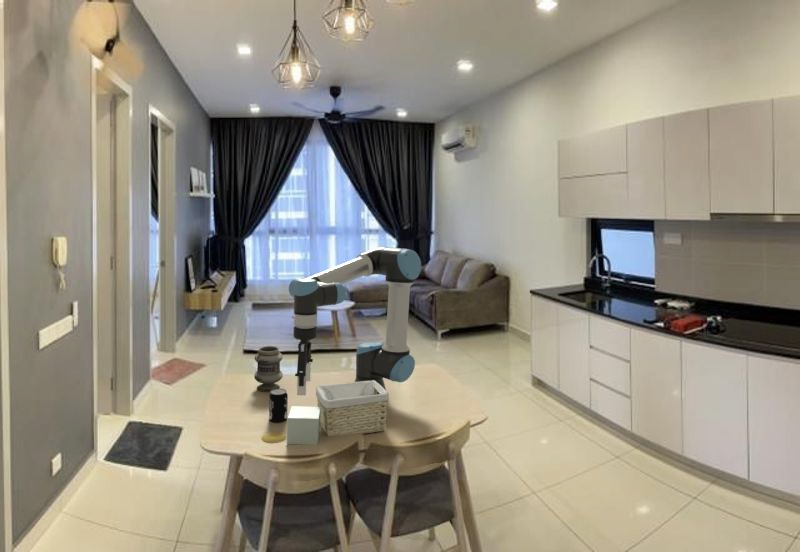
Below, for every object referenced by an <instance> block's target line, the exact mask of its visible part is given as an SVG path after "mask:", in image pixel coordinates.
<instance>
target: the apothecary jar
mask: <svg viewBox="0 0 800 552" xmlns="http://www.w3.org/2000/svg"><path fill="white" fill-rule="evenodd" d="M254 360H255V362H256V363H257V369H256V372H255V373H254V375H253V376H254V380H255V381H256V382H257V383H260V384H259V385H257V387H256V390H258V391H259V392H263V393H264V392H265V393H271V390H273V389H281V386H280V385H279V384H277V383H279V382H280V380H282V379H283V377H284V375H283V371H282V370H281V367H280V364H281V361H282V360H283V354H282V353H281V352H280V351H279V347H278V346H272V345H265V346H262V347H259V349H258V351H257V353H256V354H255V355H254Z"/></svg>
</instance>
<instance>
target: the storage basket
mask: <svg viewBox="0 0 800 552" xmlns="http://www.w3.org/2000/svg"><path fill="white" fill-rule="evenodd" d="M377 392H379V393H380V394H378V395H377ZM389 395H390V394H389V392H388V391H387V389H386V390H385V389H384V388H383V387H382V386H381V385H380V384H379V383H377V382H376V381H374V380H372V381H361V382H355V381H354V382H345V383H344V382H343V383H334V384H331V383H330V384H323V385H322V384H320V385H319V384H318V385H317V386H315V396H316V399H317V407H321V414H320V427H322V429H323V431H324V433H325V434H326V435H327V437H331V436H332V437H333V436H344V435H351V434H353V435H354V434H359V433H362V435H365V433H366V434H372V433H375V432H376V433H377V432H383V431H385V429H386V420H387V411H388V404H389V400H390V399H389Z"/></svg>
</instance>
